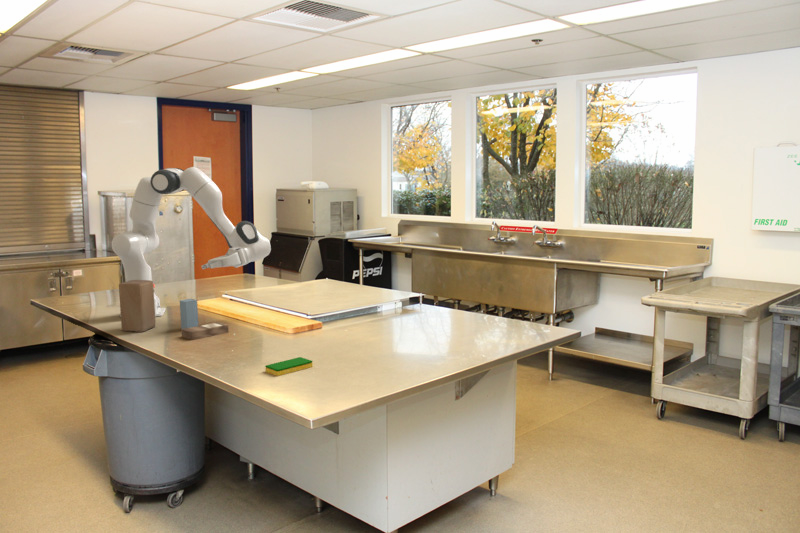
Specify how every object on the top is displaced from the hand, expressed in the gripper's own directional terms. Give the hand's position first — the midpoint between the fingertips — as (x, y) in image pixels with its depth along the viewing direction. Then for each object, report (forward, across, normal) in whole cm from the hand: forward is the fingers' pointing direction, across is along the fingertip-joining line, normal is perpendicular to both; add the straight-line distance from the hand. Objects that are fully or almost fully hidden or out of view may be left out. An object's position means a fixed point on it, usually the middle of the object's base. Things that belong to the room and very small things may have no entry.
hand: (206, 267), depth 268 cm
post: (+14, -3, +22) cm, 26 cm away
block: (+30, -15, +17) cm, 38 cm away
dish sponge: (+10, +74, +35) cm, 82 cm away
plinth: (+13, +12, +24) cm, 30 cm away
